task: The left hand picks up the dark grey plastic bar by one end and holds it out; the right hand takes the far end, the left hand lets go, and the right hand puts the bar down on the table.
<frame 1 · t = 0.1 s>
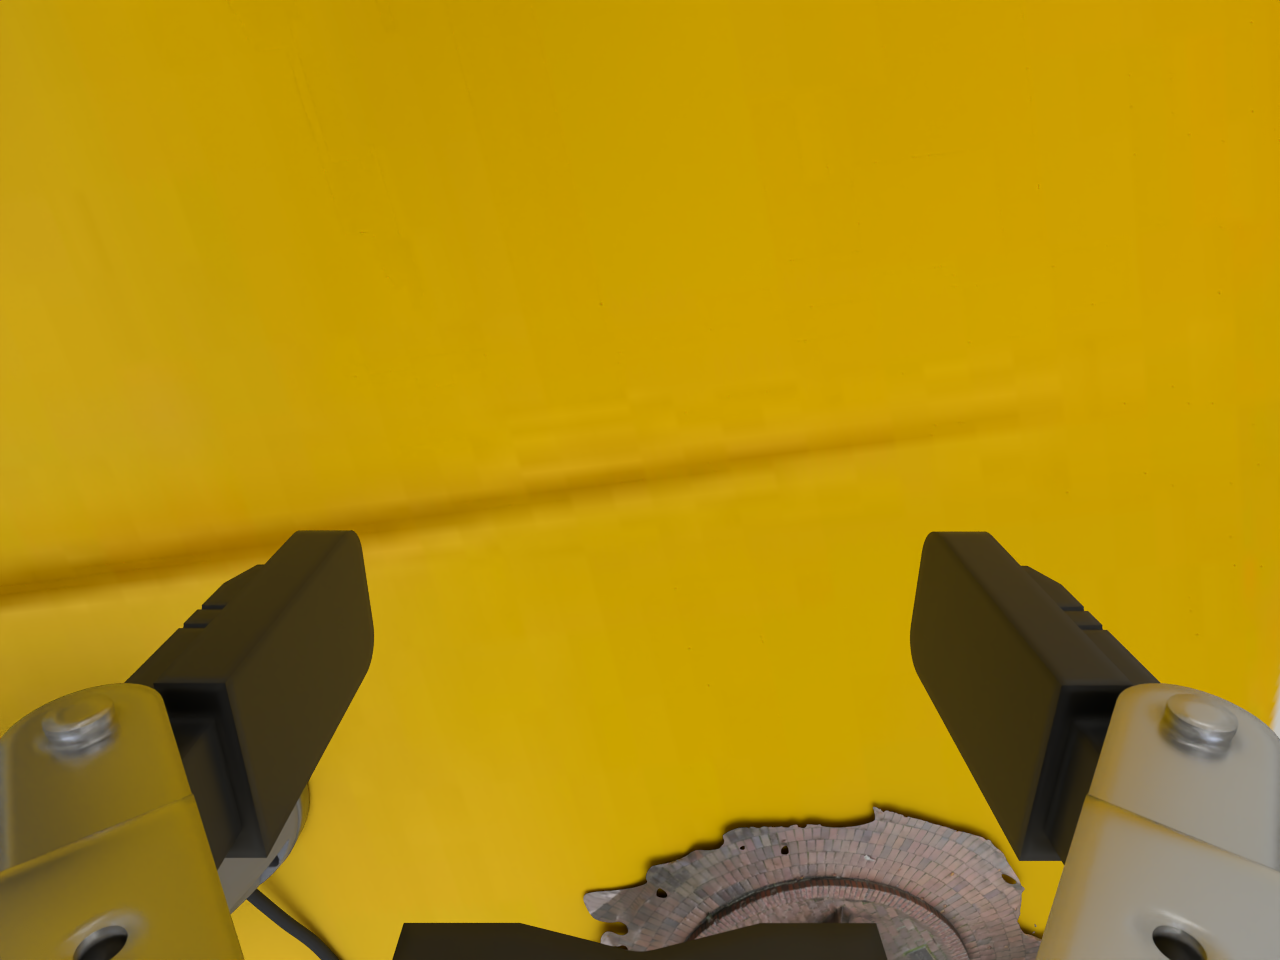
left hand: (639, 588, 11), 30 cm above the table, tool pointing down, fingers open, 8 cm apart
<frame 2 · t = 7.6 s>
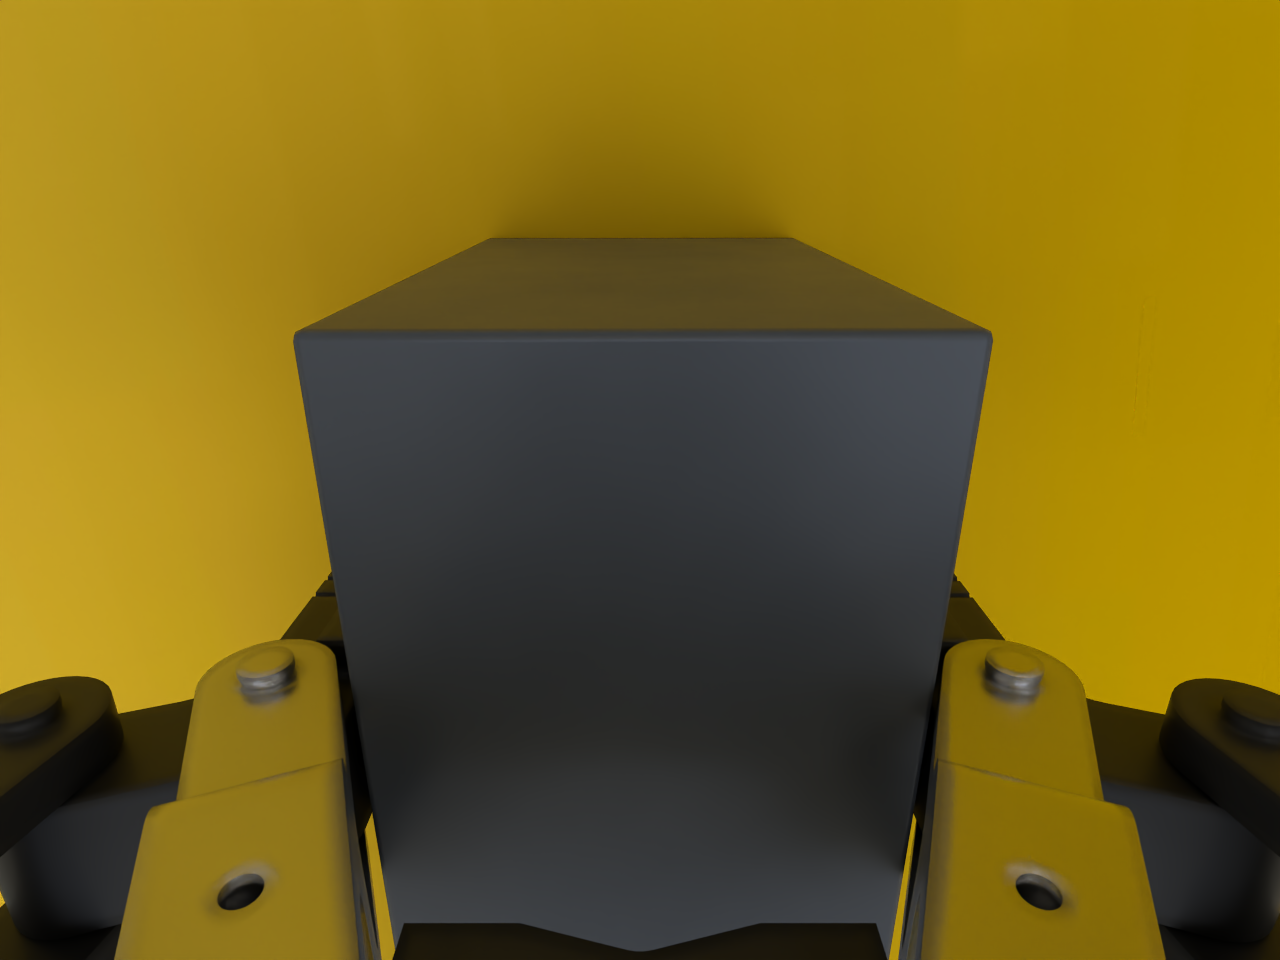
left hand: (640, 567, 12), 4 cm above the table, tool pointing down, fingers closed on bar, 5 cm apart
bar: (641, 841, 19), on the table, touching left hand
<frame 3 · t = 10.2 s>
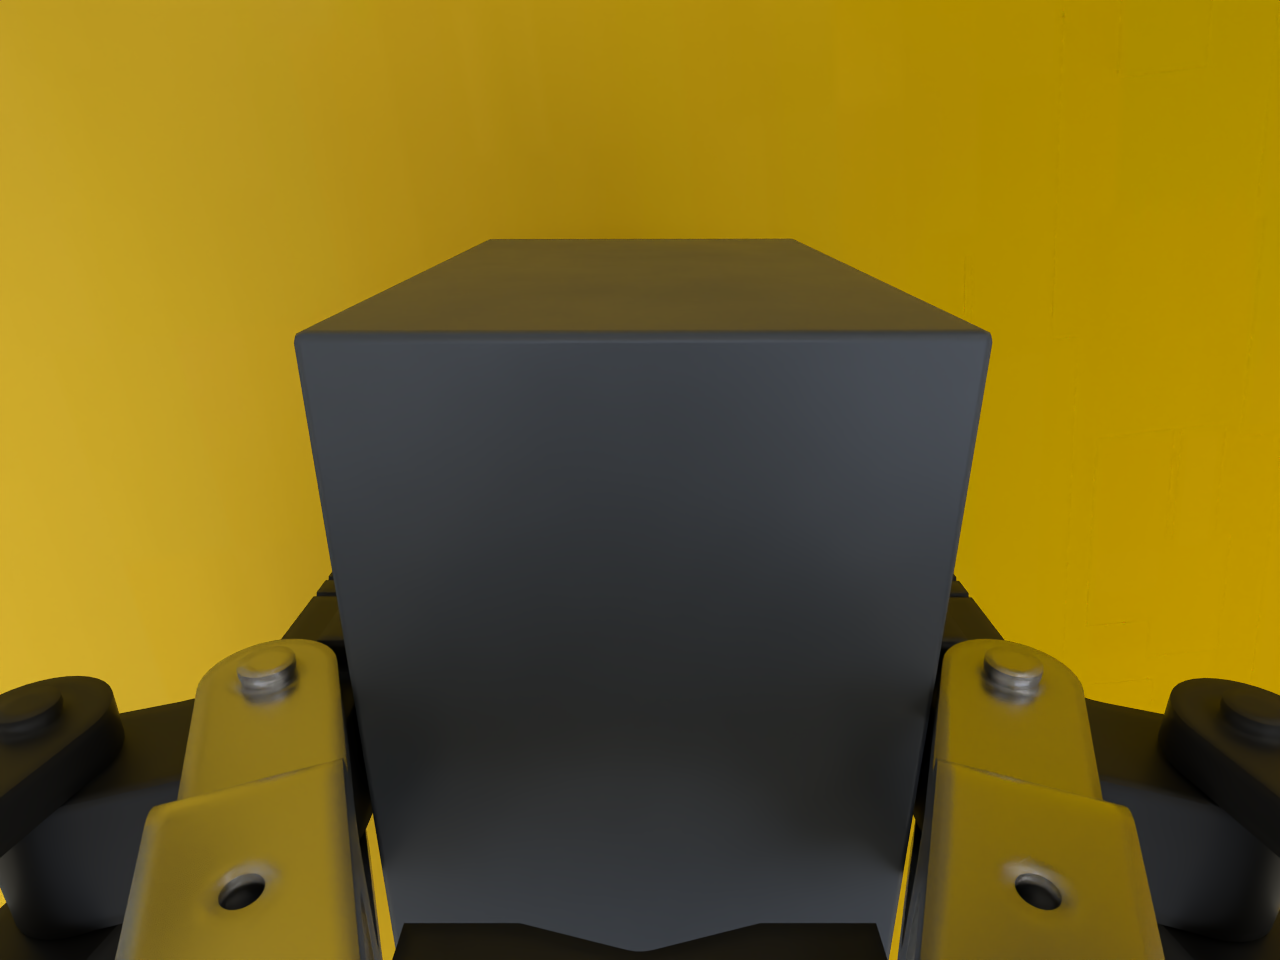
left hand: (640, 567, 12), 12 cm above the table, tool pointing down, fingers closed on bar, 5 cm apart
bar: (641, 841, 19), point 8 cm above the table, touching left hand
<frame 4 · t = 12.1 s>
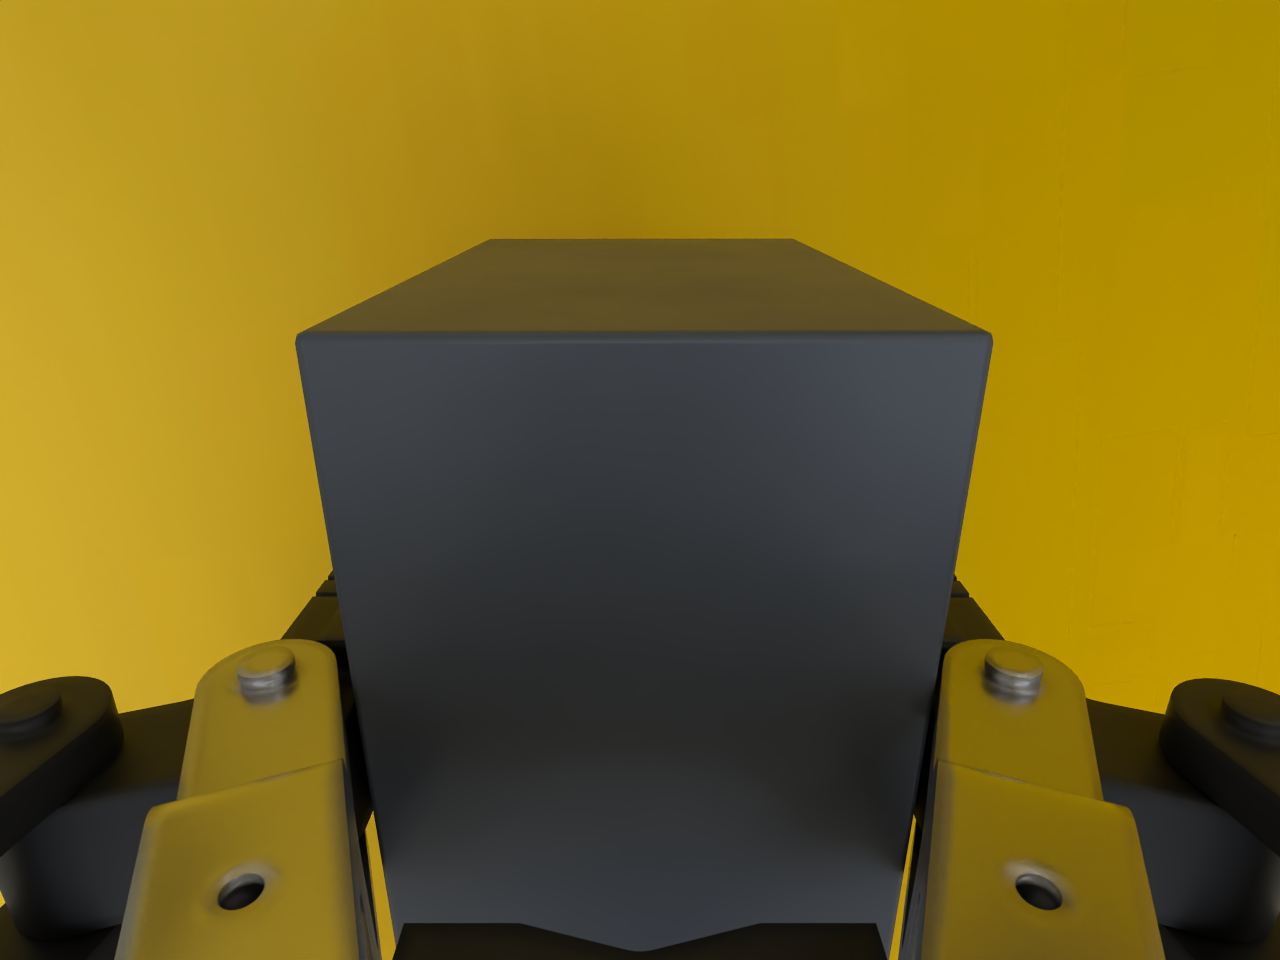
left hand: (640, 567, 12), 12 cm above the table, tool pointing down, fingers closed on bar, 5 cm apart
bar: (641, 841, 19), point 8 cm above the table, touching left hand, right hand
when the left hand's fingers open (12 cm above the table, at t = 13.0 s): bar stays where it is, held by the right hand.
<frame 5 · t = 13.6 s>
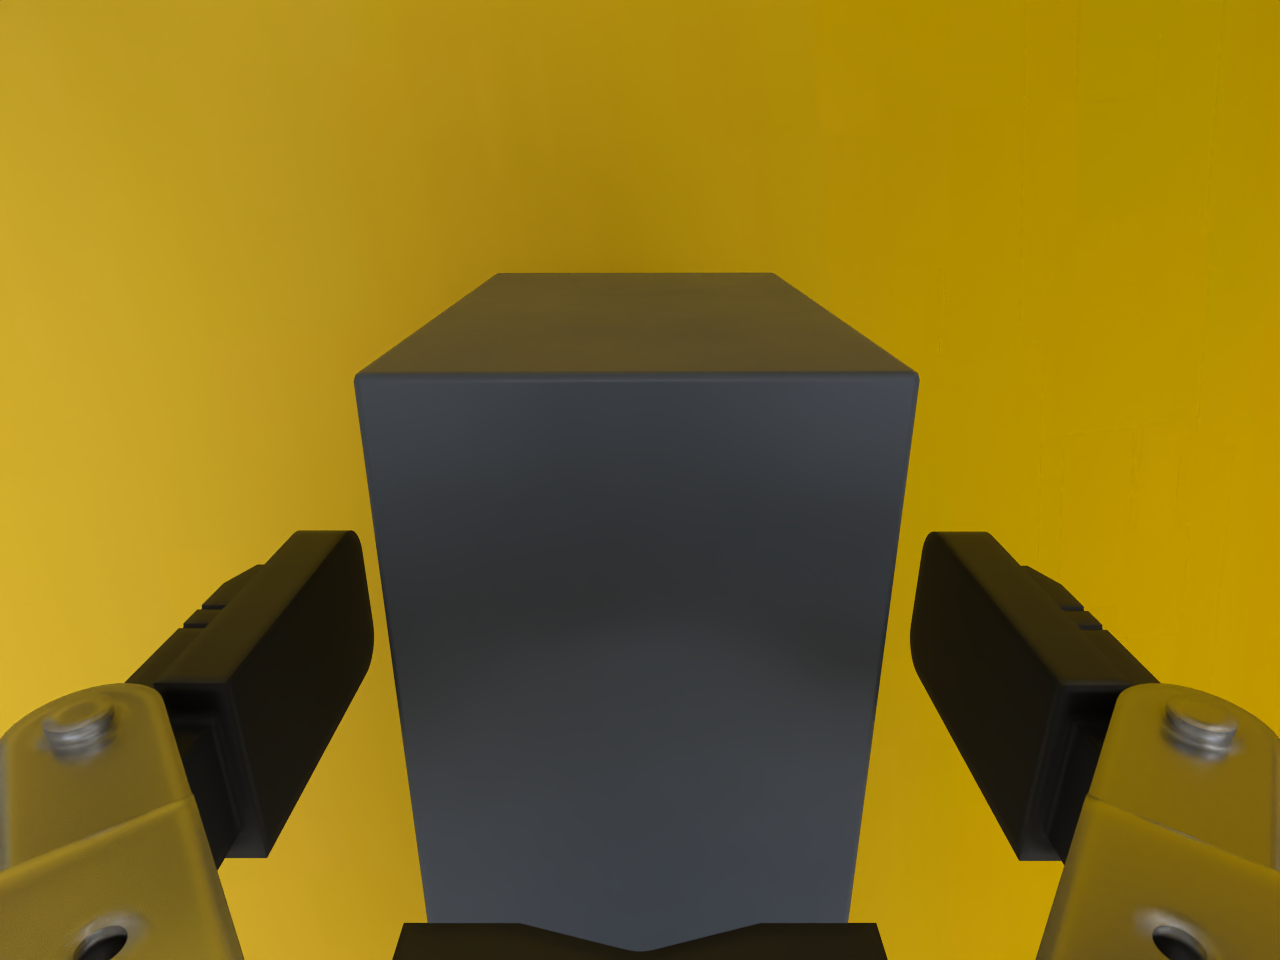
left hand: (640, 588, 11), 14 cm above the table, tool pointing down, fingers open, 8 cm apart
bar: (637, 828, 20), point 9 cm above the table, touching right hand
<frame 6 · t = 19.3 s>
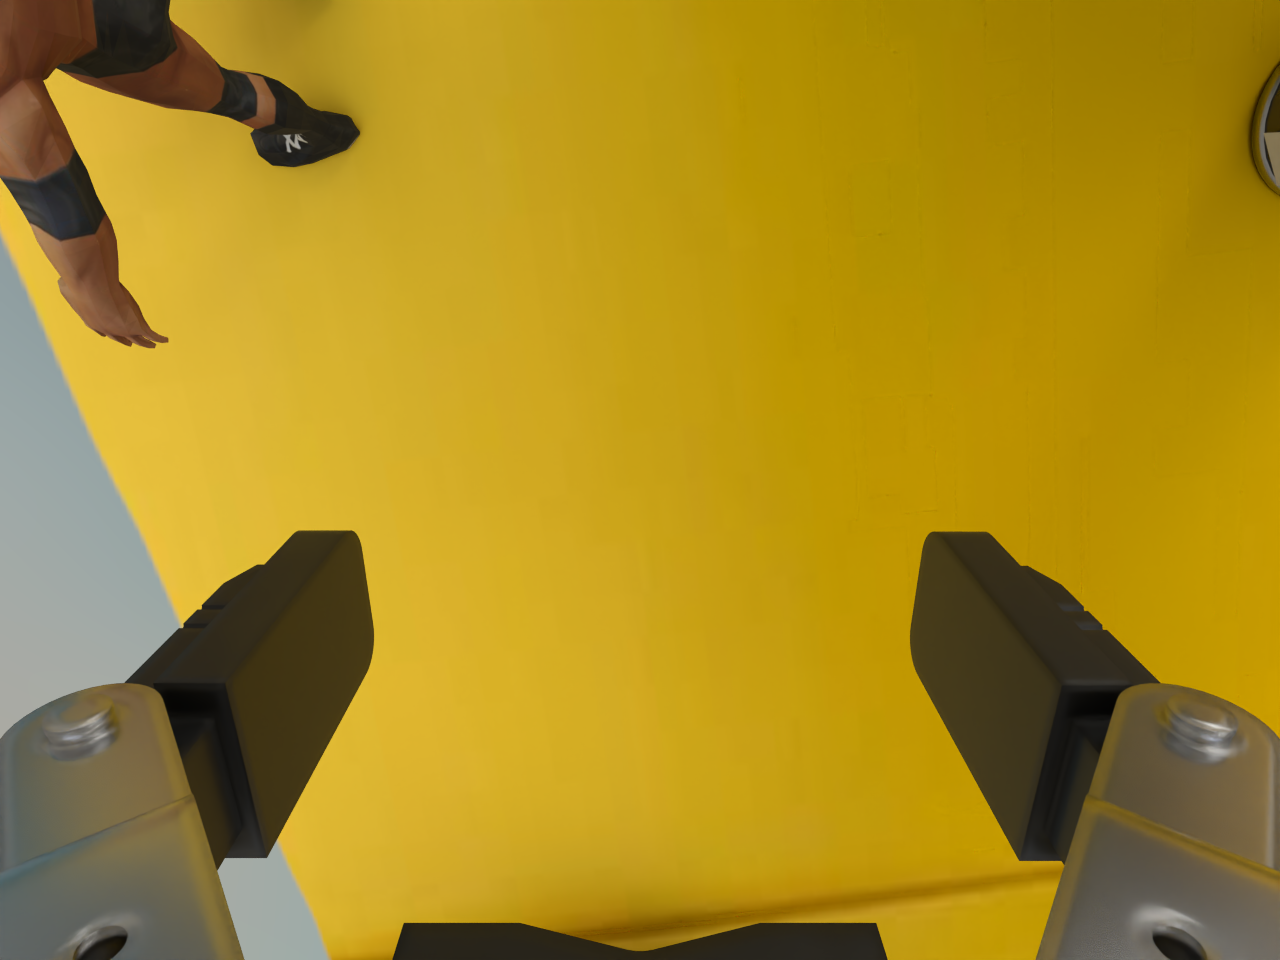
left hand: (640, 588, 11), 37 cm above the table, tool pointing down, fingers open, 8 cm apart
figurine: (300, 50, 41), on the table
when the right hand's fingers open (2 cm above the table, at t = 26.5 s): bar drops 2 cm, on the table.
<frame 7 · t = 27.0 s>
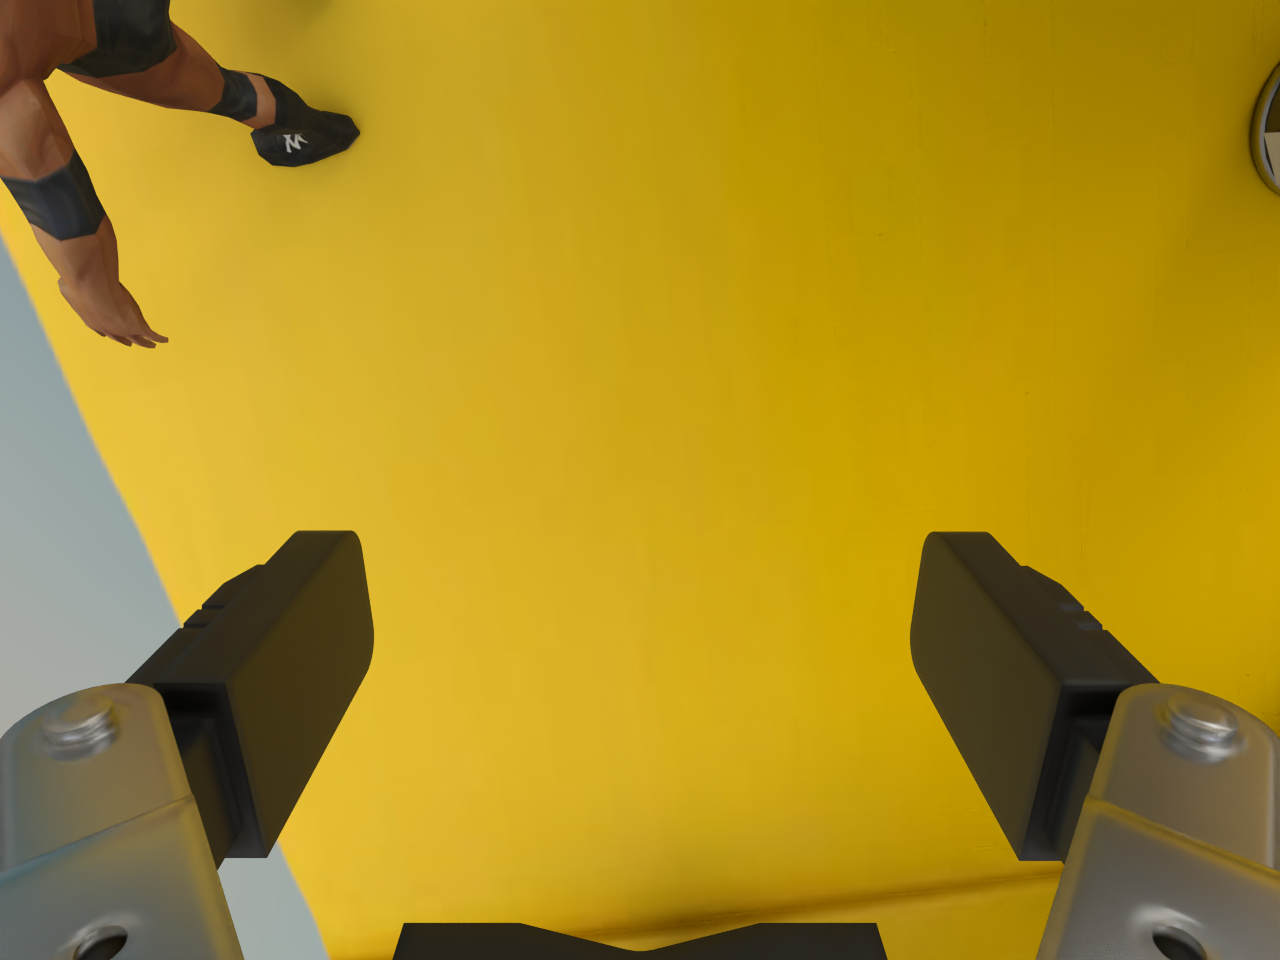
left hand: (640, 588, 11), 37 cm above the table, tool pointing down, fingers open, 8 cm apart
figurine: (300, 50, 41), on the table
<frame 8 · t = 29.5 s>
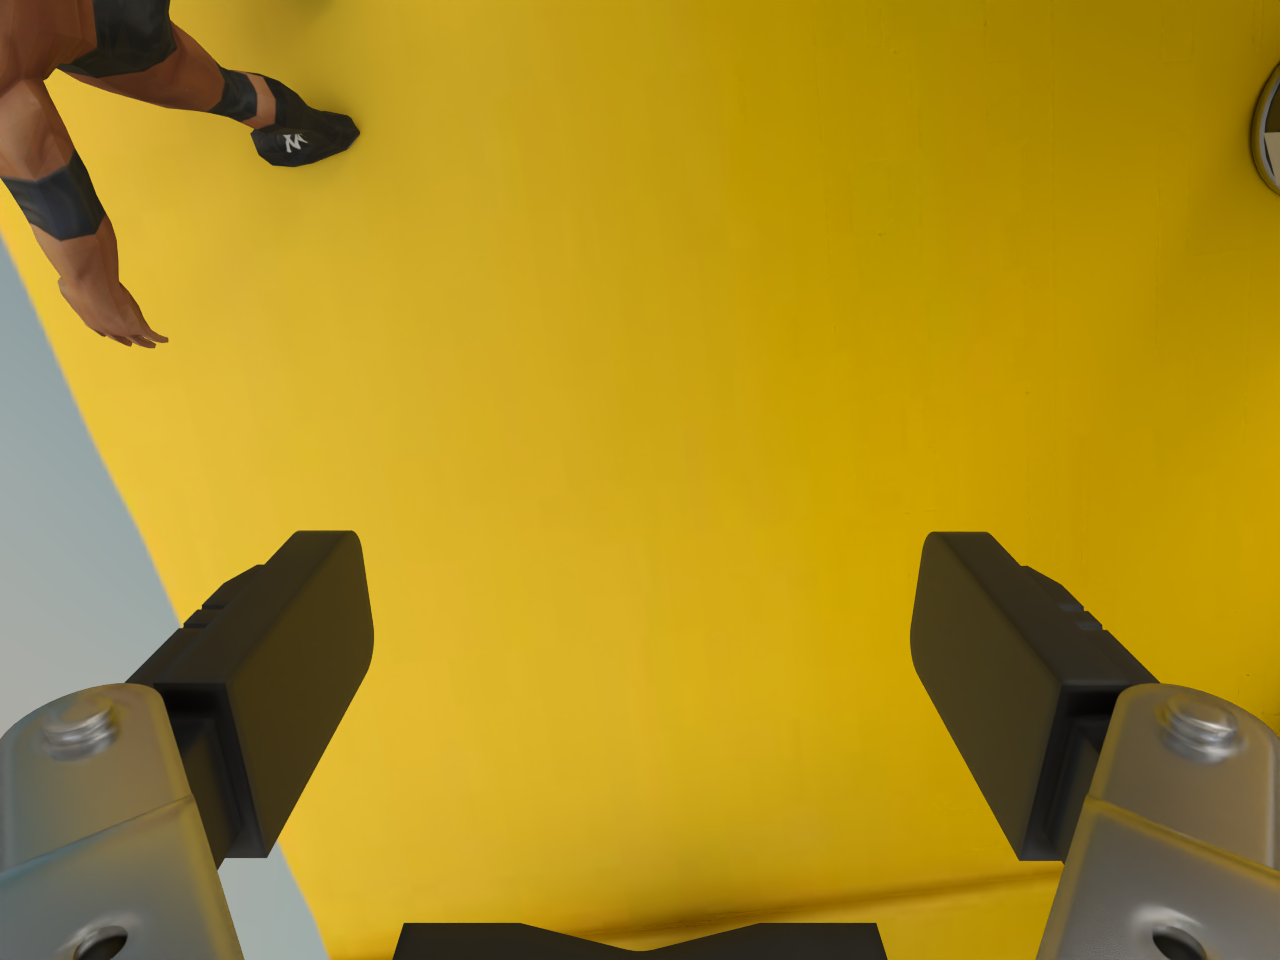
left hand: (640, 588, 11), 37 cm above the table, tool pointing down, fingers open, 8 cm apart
figurine: (300, 50, 41), on the table
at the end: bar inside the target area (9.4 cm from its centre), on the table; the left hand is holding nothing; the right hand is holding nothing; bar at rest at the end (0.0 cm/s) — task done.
